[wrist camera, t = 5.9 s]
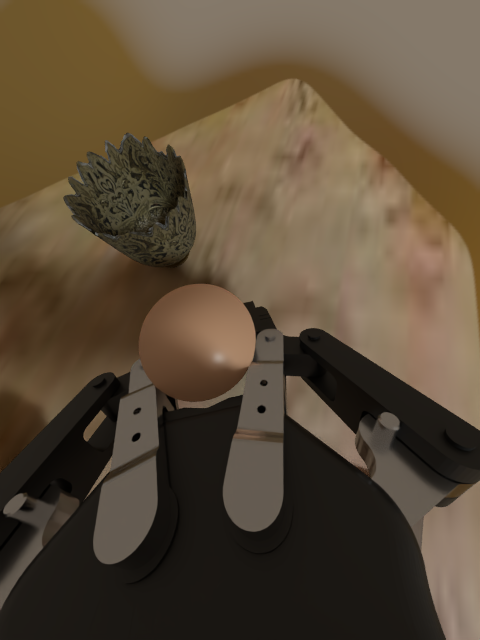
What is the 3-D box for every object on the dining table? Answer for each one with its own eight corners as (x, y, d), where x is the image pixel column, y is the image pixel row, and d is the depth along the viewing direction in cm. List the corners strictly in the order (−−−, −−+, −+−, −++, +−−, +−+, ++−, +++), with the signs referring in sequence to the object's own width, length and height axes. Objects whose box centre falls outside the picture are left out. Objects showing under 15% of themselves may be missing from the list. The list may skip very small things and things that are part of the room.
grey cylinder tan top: (194, 370, 17) (119, 380, 7) (210, 323, 18) (163, 272, 8) (243, 385, 16) (237, 418, 7) (257, 335, 17) (268, 299, 7)
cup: (225, 242, 19) (209, 160, 12) (182, 301, 18) (133, 255, 10) (166, 210, 21) (116, 117, 13) (123, 265, 19) (37, 198, 12)
